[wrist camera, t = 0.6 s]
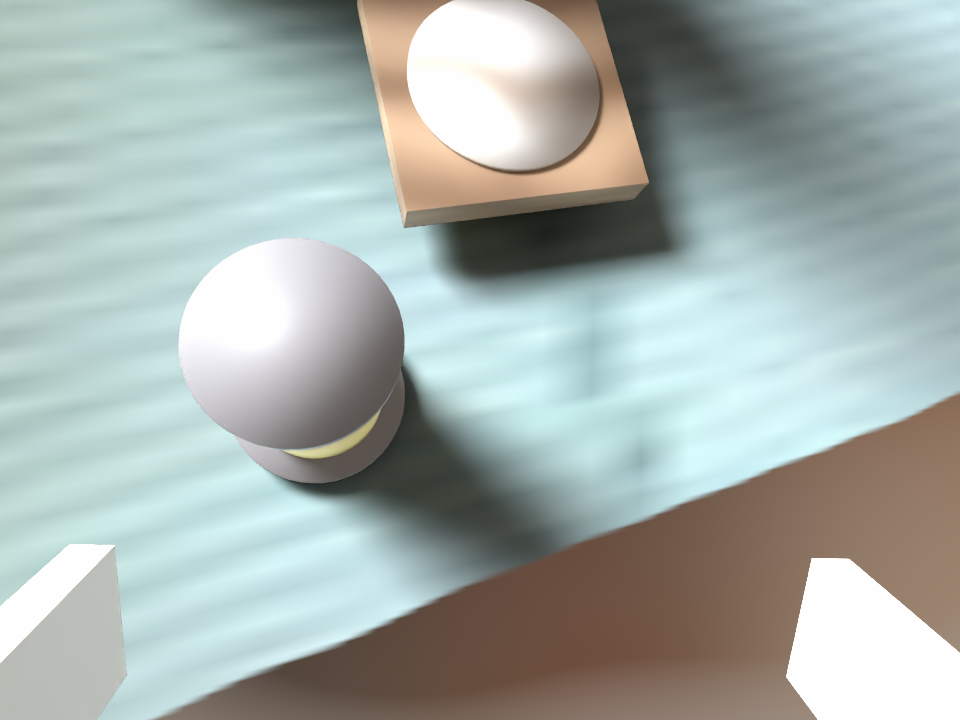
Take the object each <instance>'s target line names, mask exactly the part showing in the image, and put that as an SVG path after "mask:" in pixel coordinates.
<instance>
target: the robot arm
mask: <svg viewBox="0 0 960 720" xmlns="http://www.w3.org/2000/svg"><path fill="white" fill-rule="evenodd" d="M126 676H127V674H126V663H125V652H124V642H123V631H122V621H121V610H120V599H119V589H118V578H117V567H116V557H115V546H114V545H69V546H68V547H66V548H65V549H64V550H63V551H62V552H61V553H60V554H59V555H58V556H56V557H55V558H54V559H53V560H52V561H51V562H50V563H49V564H47V565H46V566H45V567H44V568H43V569H42V570H41V571H40V572H39V573H37V574H36V575H35V576H34V577H33V578H32V579H31V580H30V581H29V582H27V583H26V584H25V585H24V586H23V587H22V588H21V589H20V590H19V591H17V592H16V593H15V594H14V595H13V596H12V597H11V598H10V599H9V600H7V601H6V602H5V603H4V604H3V605H2V606H1V607H0V720H97V718H98V717H99V716H100V714H101V713H102V711H103V710H104V708H105V707H106V705H107V704H108V702H109V701H110V699H111V698H112V696H113V695H114V693H115V692H116V690H117V689H118V687H119V686H120V684H121V683H122V681H123V680H124V679H125V677H126ZM787 678H788V680H789V681H790V682H791V684H792V685H793V686H794V688H795V689H796V690H797V691H798V693H799V694H800V696H801V697H802V698H803V700H804V701H805V702H806V704H807V705H808V707H809V708H810V709H811V711H812V712H813V713H814V714H815V716H816V717H817V719H818V720H960V653H959V652H958V651H957V650H955V649H954V648H953V647H952V646H951V645H950V644H948V643H947V642H946V641H945V640H944V639H942V638H941V637H940V636H939V635H938V634H937V633H935V632H934V631H933V630H932V629H930V628H929V627H928V626H927V625H926V624H925V623H924V622H922V621H921V620H920V619H919V618H918V617H916V616H915V615H914V614H913V613H912V612H911V611H910V610H908V609H907V608H906V607H905V606H904V605H902V604H901V603H900V602H899V601H898V600H897V599H895V598H894V597H893V596H892V595H891V594H889V593H888V592H887V591H886V590H885V589H883V588H882V587H881V586H880V585H879V584H878V583H876V582H875V581H874V580H873V579H872V578H871V577H869V576H868V575H867V574H866V573H865V572H864V571H862V570H861V569H860V568H859V567H858V566H857V565H855V564H854V563H853V562H852V561H851V560H849V559H817V558H812V561H811V566H810V570H809V575H808V579H807V584H806V589H805V594H804V598H803V602H802V608H801V612H800V617H799V621H798V626H797V630H796V635H795V640H794V644H793V649H792V654H791V658H790V663H789V667H788V672H787Z"/></svg>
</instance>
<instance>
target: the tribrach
mask: <svg viewBox="0 0 960 720" xmlns="http://www.w3.org/2000/svg"><path fill="white" fill-rule="evenodd" d="M357 9H358V13H359V18H360V23H361V28H362V32H363V37H364V42H365V46H366V51H367V56H368V61H369V65H370V70H371V75H372V80H373V84H374V89H375V94H376V99H377V103H378V108H379V113H380V118H381V122H382V127H383V132H384V136H385V141H386V146H387V151H388V155H389V160H390V165H391V170H392V174H393V179H394V184H395V189H396V193H397V198H398V203H399V208H400V212H401V217H402V222H403V227H404V228H409V227H417V226H425V225H433V224H441V223H449V222H457V221H465V220H473V219H481V218H489V217H497V216H505V215H513V214H521V213H529V212H537V211H545V210H553V209H561V208H569V207H577V206H585V205H593V204H601V203H609V202H617V201H625V200H633V199H635V198H636V196H637V195H638V194H639V193H640V192H641V191H642V190H643V189H644V188H645V187H646V186H647V185H648V184H649V180H648V177H647V173H646V170H645V166H644V163H643V160H642V156H641V153H640V149H639V146H638V142H637V139H636V135H635V132H634V129H633V125H632V122H631V118H630V115H629V111H628V108H627V104H626V101H625V98H624V94H623V91H622V87H621V84H620V80H619V77H618V73H617V70H616V66H615V63H614V60H613V56H612V53H611V49H610V46H609V42H608V39H607V35H606V32H605V29H604V25H603V22H602V18H601V15H600V11H599V8H598V4H597V1H596V0H357Z"/></svg>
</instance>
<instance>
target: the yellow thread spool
mask: <svg viewBox="0 0 960 720" xmlns="http://www.w3.org/2000/svg"><path fill="white" fill-rule="evenodd" d="M178 345H179V359H180V364H181V369H182V373H183V376H184V378H185V381H186V384H187V386H188V388H189V390H190V392H191V394H192V395H193V397H194V399H195V400H196V402H197V403H198V404H199V406H200V407H201V408H202V410H203V411H204V412H205V413H206V414H207V415H208V416H209V417H210V418H211V419H212V420H213V421H214V422H216V423H217V424H218V425H220V426H221V427H222V428H224V429H225V430H227V431H228V432H230V433H232V434H234V435H235V437H236V438H237V440H238V442H239V444H240V445H241V446H242V448H243V449H244V450H245V452H246V453H247V454H248V455H249V456H250V457H251V458H252V459H253V460H254V461H255V462H256V463H258V464H259V465H260V466H262V467H263V468H264V469H266V470H268V471H269V472H271V473H273V474H275V475H277V476H280V477H283V478H285V479H289V480H293V481H297V482H304V483H326V482H333V481H337V480H341V479H344V478H347V477H349V476H352V475H354V474H356V473H358V472H360V471H361V470H363V469H365V468H366V467H368V466H369V465H370V464H371V463H373V462H374V461H375V460H376V459H377V458H378V457H379V456H380V455H381V454H382V453H383V452H384V451H385V449H386V448H387V447H388V445H389V444H390V443H391V441H392V439H393V437H394V436H395V434H396V432H397V430H398V427H399V425H400V423H401V419H402V415H403V412H404V404H405V386H404V379H403V375H402V372H401V365H402V362H403V354H404V329H403V322H402V318H401V315H400V311H399V308H398V306H397V304H396V301H395V299H394V297H393V295H392V293H391V292H390V290H389V288H388V287H387V285H386V284H385V283H384V281H383V280H382V279H381V278H380V276H379V275H378V274H377V273H376V272H375V271H374V270H373V269H372V268H371V267H370V266H369V265H367V264H366V263H365V262H363V261H362V260H361V259H359V258H358V257H356V256H355V255H353V254H351V253H350V252H348V251H346V250H344V249H341V248H339V247H337V246H334V245H331V244H328V243H325V242H321V241H316V240H310V239H298V238H288V239H276V240H271V241H265V242H262V243H258V244H255V245H252V246H249V247H247V248H245V249H243V250H240V251H238V252H236V253H235V254H233V255H231V256H230V257H228V258H226V259H225V260H223V261H222V262H221V263H220V264H218V265H217V266H216V267H215V268H213V269H212V270H211V271H210V272H209V273H208V275H207V276H206V277H205V278H204V279H203V280H202V281H201V283H200V284H199V285H198V287H197V288H196V289H195V291H194V293H193V294H192V296H191V298H190V300H189V302H188V304H187V306H186V309H185V312H184V314H183V317H182V322H181V326H180V331H179V343H178Z"/></svg>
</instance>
